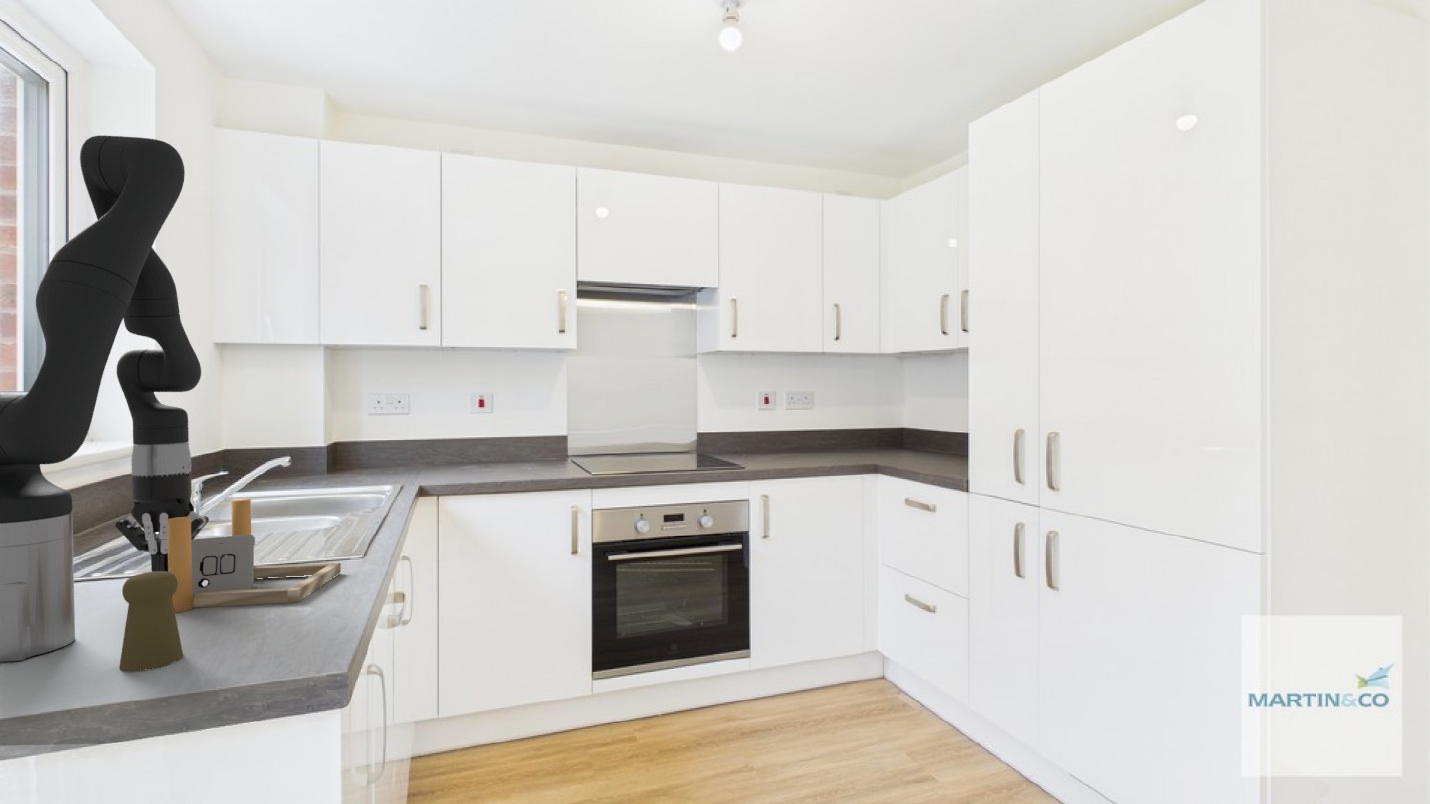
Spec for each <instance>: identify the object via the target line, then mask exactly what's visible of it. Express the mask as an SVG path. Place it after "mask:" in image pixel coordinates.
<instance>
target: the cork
mask: <svg viewBox="0 0 1430 804" xmlns="http://www.w3.org/2000/svg"><path fill="white" fill-rule="evenodd" d="M177 586H178V581H177V578H176V577H175V575H174V574H173V573H171V572H167V571H154V572H152V571H147V572H143V573H139V574H135V575H133V576H131V577H129V578H127V579H126V580H125V582H124V583H123V586H122V589H121V592H122V596H123V599H124V601H125V602H126V603H127V604H128V607H127V613H126V619H125V621H126V622H125V626H124V633H123V641H122V648H121V654H120V660H119V661H120V662H119V666H118V667H119V670H120V671H121V670H122V671H121V672H124V671H131V672H130V673H133V672H132V671H138V672H143V671H142V670H145V669H146V670H145V671H148V670H147V669H151V670H153V669H152V668H155V669H158V668H157V667H160V668H162V667H161V666H163V667H165V666H164V665H166V666H168V665H167V664H169V665H171V664H170V663H172V662H174V661H176V662H178V661H179V660H181V659H182V658H183V657H184V653H183V646H182V643H181V642H182V641H181V637H180V632H179V631H180V630H179V627H178V621H177V617H176V616H177V615H176V613H175V610H174V605H173V599H172V596H173V595H174V593H175V592H176V590H177ZM182 656H183V657H182ZM181 657H182V658H181ZM180 658H181V659H180ZM177 660H178V661H177ZM174 663H175V662H174ZM172 664H173V663H172ZM140 670H141V671H140Z"/></svg>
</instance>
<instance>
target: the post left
mask: <svg viewBox="0 0 1430 804" xmlns="http://www.w3.org/2000/svg"><path fill="white" fill-rule="evenodd" d="M167 527H168V572H171V573H173V574H174V575H175V577H176V578H177V581H178V586H177V590H176V592H175V593H174V595H173V596H172V599H173V605H174V610H175V614H176V613H183V612H186V611H190V610H192V609H193V608H194V607H193V597H192V549H191V517H177V518H171V519H168V520H167Z"/></svg>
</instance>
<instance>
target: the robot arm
mask: <svg viewBox="0 0 1430 804" xmlns="http://www.w3.org/2000/svg"><path fill="white" fill-rule="evenodd" d="M79 164H80V165H79V166H80V170H81V174H82V178H83V181H84V185H85V188H86V190H87V193H88V196H89V199H90V202H91V205H92V208H93V210H94V213H95V216H96V219H97V220H96V221H95V222H93V223H92V224H90V225H88V226H87V227H86V228H84V229H83V230H82V231H81V232H79V233H78V234H76V235H74V236H73V237H72V238H71V239H70V240H68V241H67V242H65V243H64V244H63V245H62V246H61V247H60V248H59V249H58V251H56V253H55V254H54V255H53V256H52V258H51V260H50V262H49V264H48V266H47V268H46V270H45V273H44V275H43V277H42V280H41V281H40V284H39V286H38V289H37V292H36V296H35V307H36V313H37V318H38V321H39V325H40V327H41V330H42V334H43V336H44V337H43V338H44V341H45V353H44V358H43V362H42V364H41V367H40V369H39V372H38V374H37V377H36V379H35V380H34V382H33V384H32V386H31V388H30V390H29V391H28V392H22V393H21V392H17V393H16V392H15V393H14V392H13V393H11V392H10V393H9V392H7V393H5V392H4V393H0V662H16V661H18V662H19V661H23V660H25V659H28V658H30V657H34V656H37V655H41V654H45V653H48V652H52V651H55V650H57V649H58V650H59V649H61V648H63V647H65V646H67V645H70V644H71V643H73V642H74V641H75V639H76V630H75V629H76V622H75V621H76V620H75V619H76V618H75V615H76V614H75V575H74V530H73V529H74V525H73V524H74V523H73V522H74V521H73V520H74V519H73V497H72V494H71V493H70V492H69V491H68V490H66V489H65V488H62V487H60V486H58V485H56V484H54V483H52V482H50V481H49V480H48V479H47V478H46V477H45V475H43V472H42V471H41V470H42V469H41V465H53V464H59V463H62V462H64V461H66V460H68V459H69V458H71V457H72V456H74V455H75V454H76V453H77V452H78V451H79V449H80V448H81V447H82V445H84V442H85V440H86V438H87V436H88V433H89V431H90V427H91V425H92V424H91V423H92V420H93V418H94V417H93V416H94V412H95V408H96V404H97V400H98V397H99V391H100V387H101V383H102V379H103V376H104V372H105V370H106V365H107V363H108V360H109V356H110V354H111V351H112V349H113V345H114V342H115V340H116V337H117V334H118V332H119V329H120V326H121V324H122V322H123V324H124V328H125V329H126V330H127V331H128V332H129V333H130V334H132V335H136V336H139V337H144V338H150V339H151V340H154V341H156V343H157V344H158V345H159V347H160V348H161V349H157V348H156V349H154V348H135V349H133V348H132V349H129V350H127V351H126V352H124V353H123V354H122V355H121V356H120V358H119V359H118V361H117V363H116V377H117V380H118V384H119V385H120V388H121V391H122V393H123V396H124V398H125V401H126V404H127V406H128V410H129V413H130V416H131V419H132V443H133V445H132V454H131V463H130V464H131V495H132V496H131V497H132V499H131V500H132V501H133V506H132V508H131V510H130V514H129V515H128V516H127V517H126V518H124V519H122V520H119V521H116V522H115V525H114V526H115V528H116V529H117V530H118V531H119V532H120V533H121V534H122V535H123V536H124V538H126V539H127V540H128V541H129V543H130V544H132V546H134V548H135V549H136V550H137V551H140V552H142V551H144V552H146V553H147V552H148V553H149V555H150V557H151V558H150V563H151V565H150V567H151V569H150V570H151V572H154V571H167V572H168V527H167V520H168V519H171V518H177V517H191V540H192V539H196V537H197V536H198V534H200V532H201V531H202V530H203V529H204V528H205V526H206V525H207V524H208V523H209V520H210V519H209V517H208V516H206V515H205V516H201V515H199V514H198V513H197V512H196V511H195V507H194V505H193V503H192V501H191V499H192V498H191V497H192V493H193V492H192V467H193V465H192V454H191V450H190V441H189V416H188V412H187V410H185V409H183V408H182V407H181V408H180V407H177V406H173V405H165V404H163V403H162V402H160V401H159V399H158V398H157V397H156V394H155V393H184V392H189V391H192V390H194V389H195V388H196V387H197V385H198V384H199V383H200V380H201V377H202V367H201V363H200V361H199V358H198V355H197V354H196V352H195V350H194V348H193V345H192V344H191V342H190V340H189V338H188V335H187V333H186V331H185V328H184V326H183V324H182V321H181V315H180V314H181V313H180V305H179V298H178V291H177V286H176V283H175V280H174V278H173V276H172V274H171V272H170V270H169V269H168V267H167V266H166V264H165V262H164V261H163V260H162V258H161V257H160V255H158V254H157V252H156V251H155V249H154V248H153V245H154V242H155V240H156V239H157V236H158V234H159V233H160V231H161V229H162V227H163V226H164V224H165V222H166V220H167V219H168V217H169V215H170V214H171V211H172V210H173V208H174V206H176V203H177V201H178V200H179V197H180V195H181V192H182V191H183V186H184V182H185V165H184V161H183V159H182V157H181V154H180V153H179V151H178V150H177V149H176V148H175V147H174V146H172V144H169V143H168V142H166V141H163V140H160V139H155V138H149V137H147V138H146V137H138V136H137V137H136V136H121V135H95V136H94V135H93V136H91V137H89V138H88V139H86V140H85V141H84V142H83V144H82V145H81V148H80V153H79Z"/></svg>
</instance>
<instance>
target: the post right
mask: <svg viewBox="0 0 1430 804" xmlns="http://www.w3.org/2000/svg"><path fill="white" fill-rule="evenodd" d="M251 505H252V501H251V498H240V499H232V500H231V536H238V535H252V506H251Z"/></svg>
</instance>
